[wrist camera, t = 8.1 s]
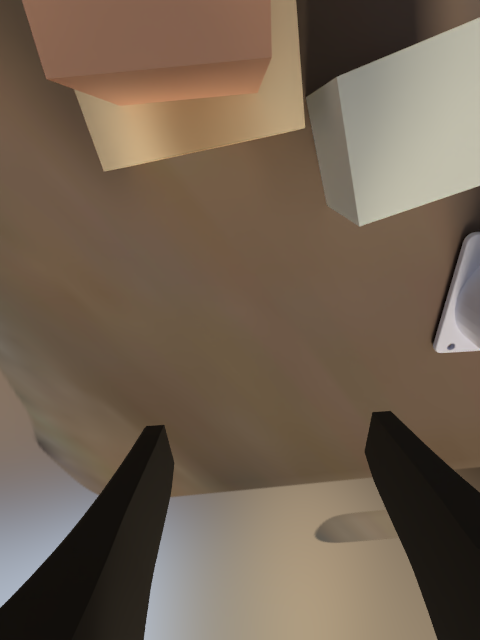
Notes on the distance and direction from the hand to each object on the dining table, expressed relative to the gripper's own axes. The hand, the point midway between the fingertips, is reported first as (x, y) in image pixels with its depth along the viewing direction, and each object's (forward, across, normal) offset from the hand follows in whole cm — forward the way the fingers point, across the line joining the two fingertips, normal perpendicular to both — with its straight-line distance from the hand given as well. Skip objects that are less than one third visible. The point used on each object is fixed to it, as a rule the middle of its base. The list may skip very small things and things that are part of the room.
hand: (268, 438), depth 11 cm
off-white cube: (+10, -6, -9) cm, 15 cm away
